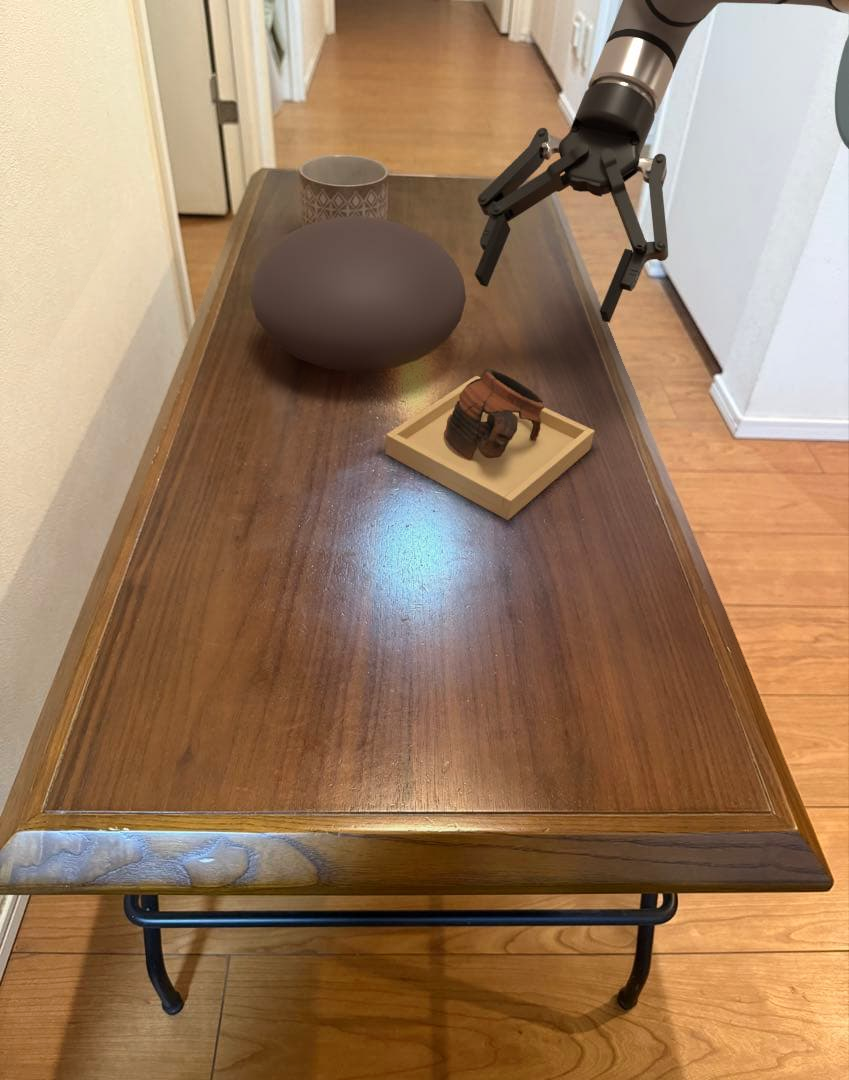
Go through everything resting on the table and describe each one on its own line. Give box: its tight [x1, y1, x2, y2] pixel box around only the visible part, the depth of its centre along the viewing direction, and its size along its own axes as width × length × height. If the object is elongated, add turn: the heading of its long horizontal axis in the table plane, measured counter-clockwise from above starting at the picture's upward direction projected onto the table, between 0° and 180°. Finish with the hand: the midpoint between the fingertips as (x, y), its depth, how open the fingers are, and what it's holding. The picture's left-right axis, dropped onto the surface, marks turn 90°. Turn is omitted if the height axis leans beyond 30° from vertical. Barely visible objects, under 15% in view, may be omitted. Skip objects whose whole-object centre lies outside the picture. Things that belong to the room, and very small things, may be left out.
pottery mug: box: [444, 368, 546, 459], centre depth 85 cm, size 12×10×8 cm
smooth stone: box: [249, 216, 467, 373], centre depth 97 cm, size 25×25×15 cm
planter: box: [298, 153, 390, 227], centre depth 122 cm, size 13×13×10 cm
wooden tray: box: [385, 375, 595, 521], centre depth 87 cm, size 16×16×2 cm
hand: (540, 298), depth 84 cm, fingers open, 13 cm apart
